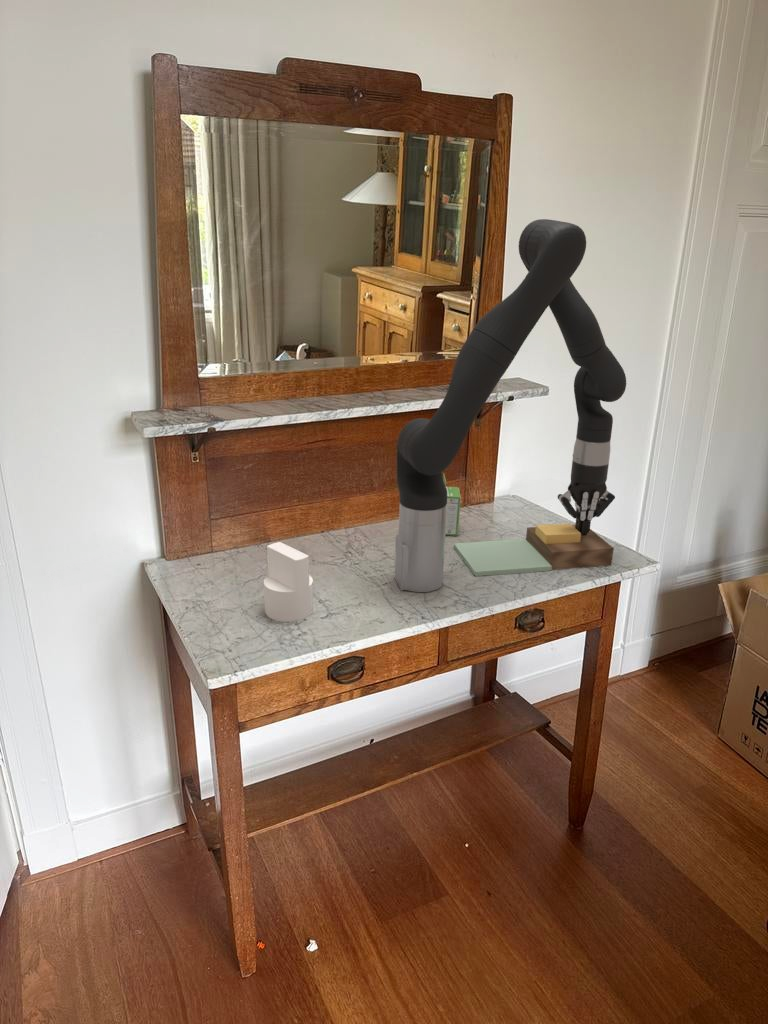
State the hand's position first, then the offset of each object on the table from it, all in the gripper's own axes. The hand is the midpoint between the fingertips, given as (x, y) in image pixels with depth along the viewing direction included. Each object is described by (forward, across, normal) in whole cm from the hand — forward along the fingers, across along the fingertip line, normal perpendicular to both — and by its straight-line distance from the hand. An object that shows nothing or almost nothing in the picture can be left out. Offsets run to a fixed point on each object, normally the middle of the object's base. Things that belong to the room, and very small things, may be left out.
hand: (581, 534), depth 166 cm
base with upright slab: (+4, -66, -16) cm, 68 cm away
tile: (0, -6, 0) cm, 6 cm away
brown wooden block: (+4, -3, 0) cm, 5 cm away
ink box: (+5, -25, +18) cm, 31 cm away
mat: (+4, -18, 0) cm, 19 cm away
